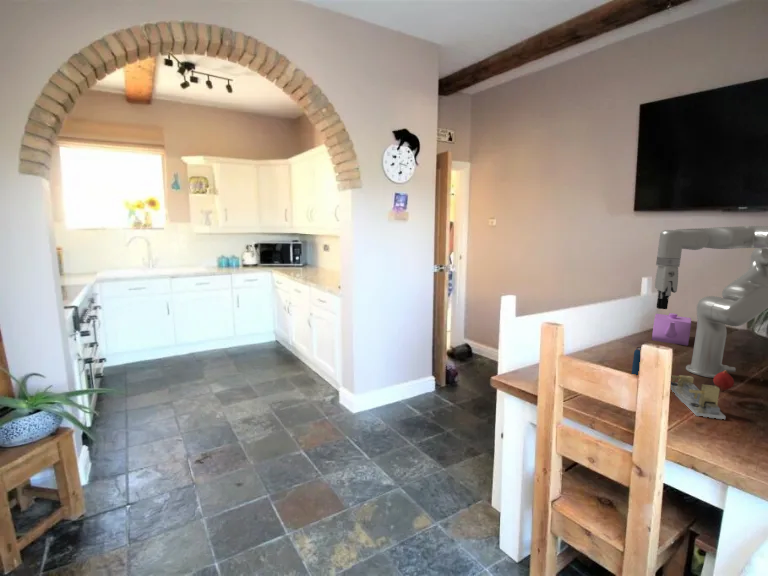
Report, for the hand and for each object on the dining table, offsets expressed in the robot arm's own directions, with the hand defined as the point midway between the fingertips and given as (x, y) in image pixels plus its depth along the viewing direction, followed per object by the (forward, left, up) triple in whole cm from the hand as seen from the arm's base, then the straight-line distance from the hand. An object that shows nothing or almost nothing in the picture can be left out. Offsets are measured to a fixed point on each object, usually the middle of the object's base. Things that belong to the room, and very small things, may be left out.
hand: (661, 308), depth 161 cm
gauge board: (-5, +24, -27) cm, 37 cm away
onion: (-19, +11, -27) cm, 35 cm away
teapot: (-24, -55, -27) cm, 66 cm away
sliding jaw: (-5, +31, -26) cm, 40 cm away
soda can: (+6, +7, -27) cm, 29 cm away
